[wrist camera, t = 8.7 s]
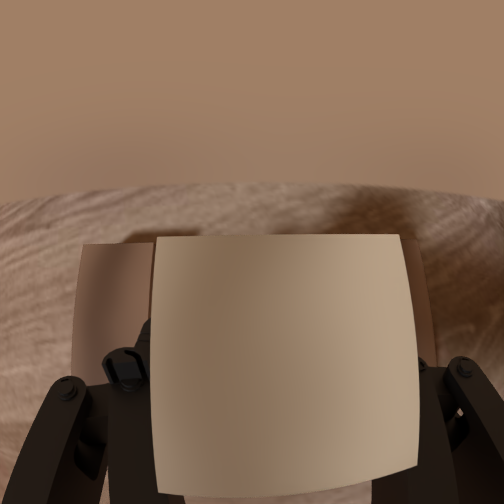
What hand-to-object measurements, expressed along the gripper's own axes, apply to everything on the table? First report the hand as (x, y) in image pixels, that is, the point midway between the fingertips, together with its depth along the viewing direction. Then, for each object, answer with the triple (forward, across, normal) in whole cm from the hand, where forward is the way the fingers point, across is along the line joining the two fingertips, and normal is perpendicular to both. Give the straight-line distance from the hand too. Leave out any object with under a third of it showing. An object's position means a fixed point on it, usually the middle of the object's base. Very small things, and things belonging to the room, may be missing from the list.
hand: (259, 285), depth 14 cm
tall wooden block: (0, 0, -5) cm, 5 cm away
